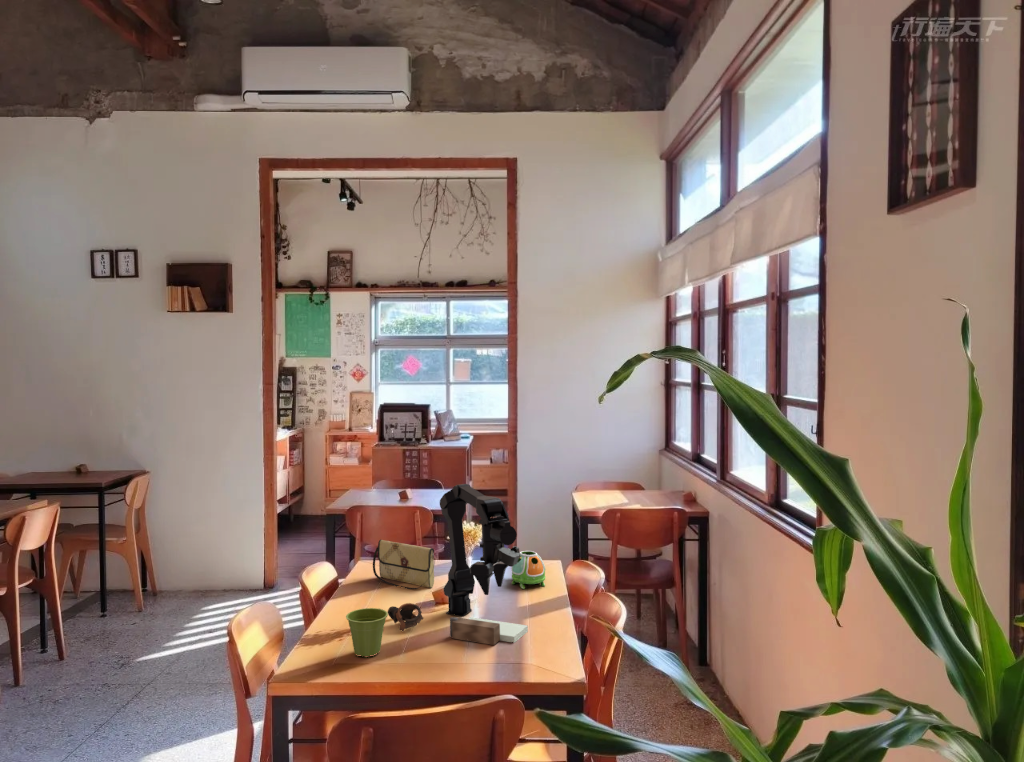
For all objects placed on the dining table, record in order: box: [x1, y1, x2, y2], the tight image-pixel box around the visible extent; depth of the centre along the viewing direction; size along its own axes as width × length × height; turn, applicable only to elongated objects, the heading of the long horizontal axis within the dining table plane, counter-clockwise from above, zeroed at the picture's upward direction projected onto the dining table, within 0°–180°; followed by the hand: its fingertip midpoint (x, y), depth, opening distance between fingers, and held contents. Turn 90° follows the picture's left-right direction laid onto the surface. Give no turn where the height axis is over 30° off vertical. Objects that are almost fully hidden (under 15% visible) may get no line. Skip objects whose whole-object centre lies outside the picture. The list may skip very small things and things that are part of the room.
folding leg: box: [449, 616, 501, 646], centre depth 220 cm, size 16×4×5 cm, turn 65°
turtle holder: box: [511, 550, 546, 590], centre depth 276 cm, size 12×18×12 cm
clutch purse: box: [372, 539, 436, 590], centre depth 277 cm, size 30×7×15 cm, turn 56°
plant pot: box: [345, 607, 389, 657], centre depth 211 cm, size 12×12×11 cm
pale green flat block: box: [467, 616, 529, 644], centre depth 226 cm, size 20×10×2 cm, turn 65°
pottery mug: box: [387, 602, 424, 632], centre depth 232 cm, size 12×10×8 cm
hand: (493, 590), depth 224 cm, fingers open, 9 cm apart
